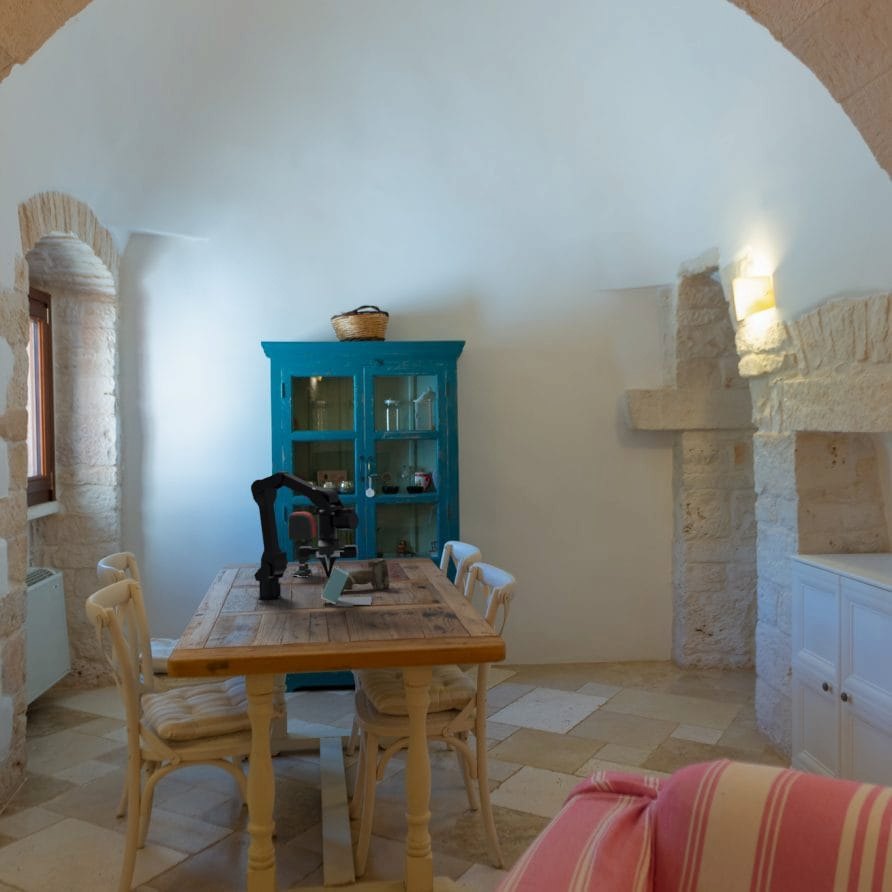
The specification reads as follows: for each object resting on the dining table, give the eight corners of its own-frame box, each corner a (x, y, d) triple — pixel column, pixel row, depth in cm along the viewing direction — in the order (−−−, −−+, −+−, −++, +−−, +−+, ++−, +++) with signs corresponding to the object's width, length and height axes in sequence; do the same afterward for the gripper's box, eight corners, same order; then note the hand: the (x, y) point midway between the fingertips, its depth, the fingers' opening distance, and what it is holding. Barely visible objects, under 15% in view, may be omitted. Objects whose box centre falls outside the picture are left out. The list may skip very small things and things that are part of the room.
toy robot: (297, 570, 334) (296, 495, 333) (320, 570, 333) (318, 495, 333) (284, 580, 312) (283, 500, 311) (309, 580, 311) (307, 499, 311)
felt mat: (336, 606, 263) (336, 605, 263) (338, 599, 275) (338, 597, 275) (371, 605, 264) (371, 604, 264) (371, 598, 276) (371, 596, 276)
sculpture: (345, 618, 292) (319, 585, 288) (392, 576, 300) (367, 544, 296) (352, 621, 285) (326, 588, 281) (400, 578, 293) (375, 545, 289)
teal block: (320, 598, 266) (333, 569, 266) (321, 595, 271) (334, 567, 271) (335, 604, 266) (348, 575, 266) (335, 601, 271) (348, 573, 271)
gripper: (295, 533, 259) (296, 583, 260) (355, 531, 261) (356, 581, 261) (298, 529, 271) (300, 577, 271) (357, 527, 272) (358, 575, 272)
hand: (328, 577), depth 268 cm, fingers closed
